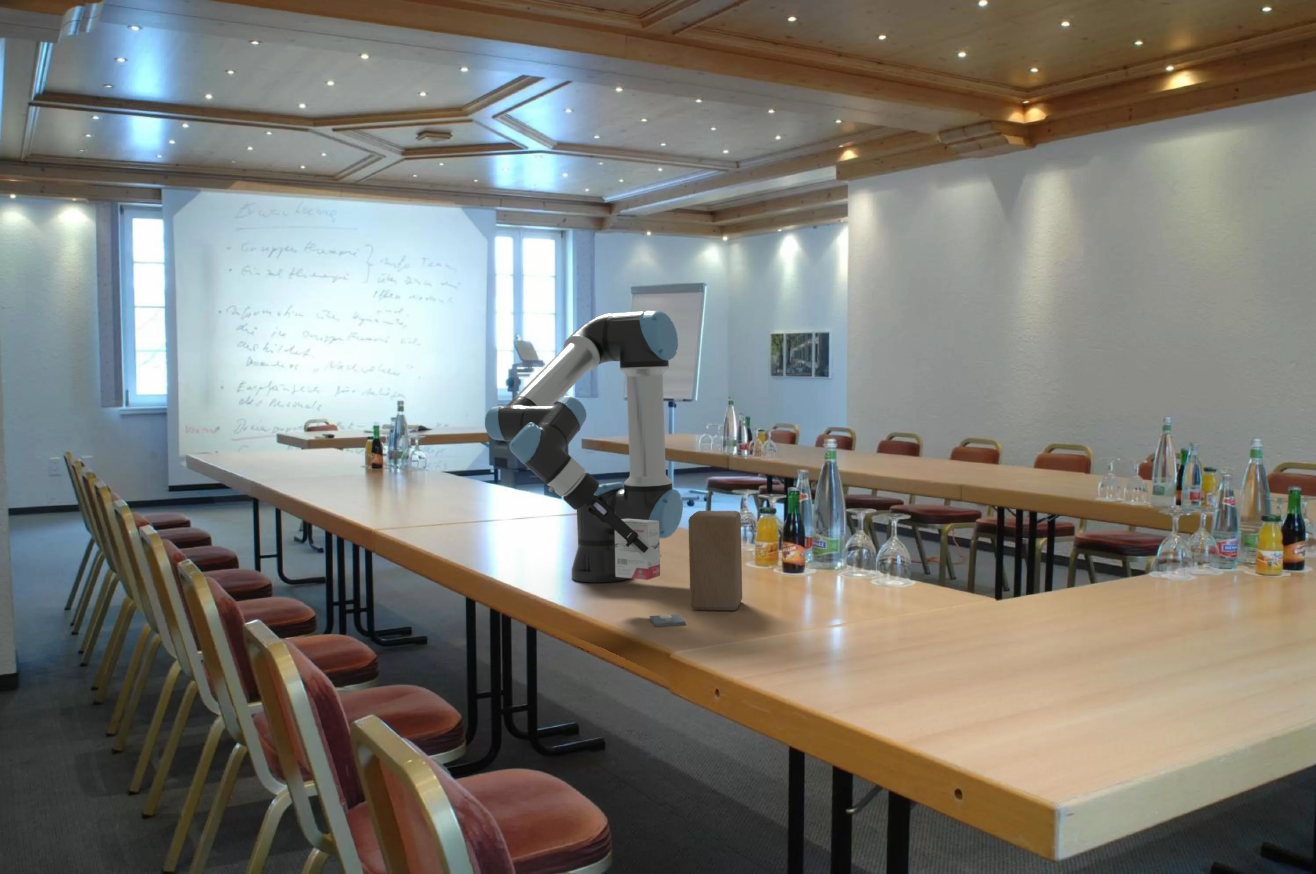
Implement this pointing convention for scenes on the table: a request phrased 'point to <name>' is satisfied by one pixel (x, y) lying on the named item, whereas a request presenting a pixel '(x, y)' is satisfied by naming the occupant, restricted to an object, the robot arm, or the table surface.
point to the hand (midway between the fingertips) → (652, 556)
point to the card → (667, 620)
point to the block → (715, 560)
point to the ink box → (632, 561)
